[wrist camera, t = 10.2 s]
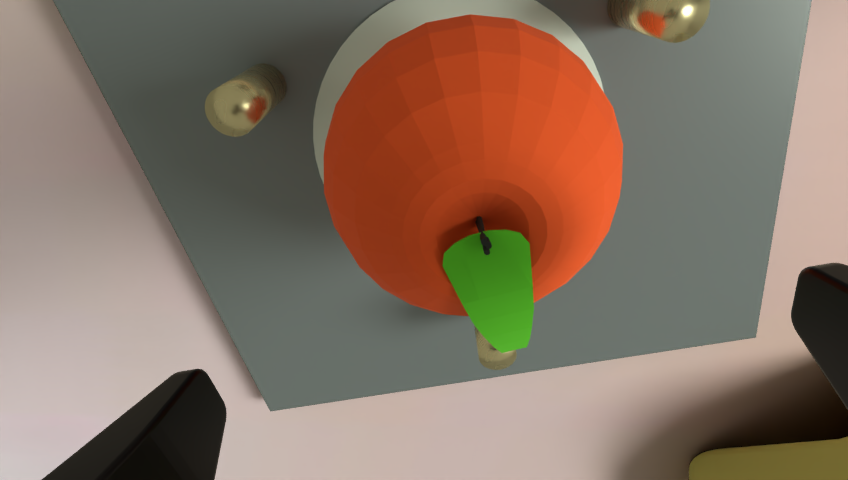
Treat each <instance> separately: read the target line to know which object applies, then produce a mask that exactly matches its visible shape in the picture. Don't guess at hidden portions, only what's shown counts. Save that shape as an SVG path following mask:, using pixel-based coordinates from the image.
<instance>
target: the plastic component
mask: <svg viewBox="0 0 848 480" xmlns="http://www.w3.org/2000/svg"><path fill="white" fill-rule="evenodd" d="M689 480H848V437H845V438H841V439H834V440H822V441H810V442H797V443H785V444H773V445H761V446H748V447H736V448H724V449H715V450H710V451H706V452H703V453H701V454H699V455H698V456H696V457H695V458H694V459H693V460H692V462H691V463H690V466H689Z"/></svg>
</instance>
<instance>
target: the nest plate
mask: <svg viewBox="0 0 848 480" xmlns="http://www.w3.org/2000/svg"><path fill="white" fill-rule="evenodd" d="M53 1H54V3H55V5H56V7H57V9H58V11H59V12H60V14H61V16H62V18H63V20H64V22H65V24H66V26H67V28H68V29H69V31H70V33H71V35H72V37H73V39H74V41H75V43H76V45H77V46H78V48H79V50H80V52H81V54H82V56H83V58H84V60H85V62H86V64H87V65H88V67H89V69H90V71H91V73H92V75H93V77H94V79H95V81H96V82H97V84H98V86H99V88H100V90H101V92H102V94H103V96H104V98H105V99H106V101H107V103H108V105H109V107H110V109H111V111H112V113H113V115H114V116H115V118H116V120H117V122H118V124H119V126H120V128H121V130H122V132H123V134H124V135H125V137H126V139H127V141H128V143H129V145H130V147H131V149H132V151H133V152H134V154H135V156H136V158H137V160H138V162H139V164H140V166H141V168H142V169H143V171H144V173H145V175H146V177H147V179H148V181H149V183H150V185H151V186H152V188H153V190H154V192H155V194H156V196H157V198H158V200H159V202H160V204H161V205H162V207H163V209H164V211H165V213H166V215H167V217H168V219H169V221H170V222H171V224H172V226H173V228H174V230H175V232H176V234H177V236H178V238H179V239H180V241H181V243H182V245H183V247H184V249H185V251H186V253H187V255H188V256H189V258H190V260H191V262H192V264H193V266H194V268H195V270H196V272H197V274H198V275H199V277H200V279H201V281H202V283H203V285H204V287H205V289H206V291H207V292H208V294H209V296H210V298H211V300H212V302H213V304H214V306H215V308H216V309H217V311H218V313H219V315H220V317H221V319H222V321H223V323H224V325H225V326H226V328H227V330H228V332H229V334H230V336H231V338H232V340H233V342H234V344H235V345H236V347H237V349H238V351H239V353H240V355H241V357H242V359H243V361H244V362H245V364H246V366H247V368H248V370H249V372H250V374H251V376H252V378H253V379H254V381H255V383H256V385H257V387H258V389H259V391H260V393H261V395H262V396H263V398H264V400H265V402H266V404H267V406H268V408H269V410H270V411H276V410H282V409H289V408H296V407H302V406H309V405H315V404H322V403H328V402H335V401H342V400H348V399H355V398H361V397H368V396H374V395H381V394H388V393H394V392H401V391H407V390H414V389H420V388H427V387H434V386H440V385H447V384H453V383H460V382H466V381H473V380H480V379H486V378H493V377H499V376H506V375H512V374H519V373H526V372H532V371H539V370H545V369H552V368H558V367H565V366H572V365H578V364H585V363H591V362H598V361H604V360H611V359H617V358H624V357H631V356H637V355H644V354H650V353H657V352H663V351H670V350H677V349H683V348H690V347H696V346H703V345H709V344H716V343H723V342H729V341H736V340H742V339H749V338H755V337H756V333H757V327H758V321H759V315H760V309H761V303H762V297H763V291H764V285H765V279H766V273H767V267H768V261H769V255H770V249H771V243H772V237H773V231H774V224H775V218H776V212H777V206H778V200H779V194H780V188H781V182H782V176H783V170H784V164H785V158H786V152H787V146H788V140H789V134H790V128H791V122H792V116H793V110H794V104H795V98H796V92H797V86H798V80H799V74H800V68H801V62H802V56H803V50H804V44H805V38H806V32H807V25H808V19H809V13H810V7H811V1H812V0H710V10H709V14H708V17H707V20H706V22H705V23H704V25H703V26H702V28H701V29H700V30H699V31H698V32H697V33H696V34H695V35H694V36H692V37H691V38H689V39H687V40H685V41H682V42H678V43H670V42H666V41H663V40H660V39H657V38H654V37H651V36H647V35H644V34H641V33H638V32H635V31H632V30H629V29H625V28H622V27H619V26H617V25H615V24H614V23H613V22H612V21H611V20H610V18H609V15H608V11H607V5H608V0H53ZM469 14H472V15H482V16H492V17H501V18H511V19H515V20H518V21H520V22H522V23H525V24H527V25H530V26H532V27H534V28H537V29H539V30H542V31H544V32H546V33H549V34H551V35H553V36H554V37H555V38H557V39H558V40H559V41H560V42H561V43H562V44H564V45H565V46H566V47H567V48H568V49H570V50H571V51H572V52H573V53H574V54H576V55H577V56H578V57H579V58H580V59H582V60H583V61H584V63H585V64H586V66H587V67H588V69H589V70H590V72H591V73H592V75H593V76H594V78H595V79H596V81H597V83H598V84H599V86H600V87H601V89H602V90H603V92H604V94H605V95H606V97H607V98H608V100H609V101H610V103H611V105H612V106H613V108H614V112H615V116H616V120H617V123H618V127H619V131H620V135H621V138H622V142H623V164H622V184H621V191H620V198H619V201H618V204H617V207H616V210H615V213H614V216H613V220H612V223H611V226H610V229H609V231H608V233H607V235H606V236H605V238H604V239H603V241H602V242H601V244H600V246H599V247H598V249H597V250H596V252H595V254H594V255H593V257H592V258H591V260H590V261H589V262H588V263H587V264H586V265H585V266H584V267H582V268H581V269H580V270H579V271H578V272H577V273H576V274H575V275H574V276H573V277H572V278H571V279H570V280H569V281H568V282H567V283H566V284H564V285H562V286H561V287H559V288H558V289H556V290H554V291H553V292H551V293H549V294H548V295H546V296H545V297H543V298H541V299H540V300H538V301H536V302H535V303H534V313H533V322H532V330H531V335H530V340H529V343H528V346H527V347H526V348H521V349H517V350H516V353H517V356H516V359H515V361H514V363H513V364H512V365H510V366H509V367H507V368H505V369H501V370H492V369H488V368H486V367H484V366H483V365H482V364H481V363H480V361H479V356H478V349H477V342H476V335H475V328H474V324H473V323H472V321H471V319H470V317H469V316H459V315H447V314H441V313H437V312H434V311H430V310H427V309H424V308H420V307H417V306H413V305H410V304H409V303H407V302H405V301H403V300H401V299H400V298H398V297H396V296H394V295H393V294H391V293H389V292H387V291H385V290H384V289H382V288H381V287H380V286H379V285H378V284H377V283H376V282H375V281H374V280H373V279H372V278H371V277H370V276H368V275H367V274H366V273H365V272H364V271H363V270H362V269H361V268H360V267H359V265H358V264H357V262H356V261H355V259H354V257H353V256H352V254H351V253H350V251H349V249H348V248H347V246H346V245H345V243H344V241H343V240H342V238H341V237H340V235H339V233H338V232H337V230H336V229H335V227H334V225H333V221H332V218H331V214H330V211H329V208H328V204H327V201H326V198H325V194H324V149H325V141H326V138H327V134H328V130H329V127H330V123H331V120H332V116H333V112H334V109H335V105H336V103H337V102H338V100H339V98H340V97H341V95H342V94H343V92H344V90H345V89H346V87H347V85H348V84H349V82H350V80H351V79H352V77H353V76H354V74H355V72H356V71H357V70H358V69H359V68H360V67H361V66H362V65H363V64H364V63H365V62H366V61H367V60H369V59H370V58H371V57H372V56H373V55H374V54H375V53H376V52H377V51H378V50H379V49H381V48H382V47H383V46H384V45H385V44H386V43H387V42H389V41H391V40H393V39H395V38H397V37H399V36H401V35H403V34H405V33H407V32H408V31H410V30H412V29H414V28H416V27H418V26H420V25H422V24H424V23H426V22H431V21H437V20H442V19H447V18H453V17H458V16H463V15H469ZM261 63H264V64H269V65H272V66H274V67H275V68H277V69H278V70H279V71H280V72H281V73H282V75H283V76H284V78H285V81H286V85H287V91H286V95H285V97H284V99H283V100H282V101H281V102H280V103H279V104H278V105H277V106H276V107H275V108H274V109H273V110H272V111H270V112H269V113H268V114H267V115H266V116H265V117H264V118H263V119H262V120H261V121H260V122H259V123H258V124H257V125H256V126H255V127H254V128H253V129H252V130H251V131H250V132H249V133H247V134H245V135H243V136H239V137H232V136H227V135H224V134H222V133H221V132H219V131H218V130H216V129H215V128H214V127H213V126H212V125H211V123H210V122H209V120H208V118H207V116H206V113H205V101H206V98H207V96H208V95H209V93H210V92H211V91H212V90H214V89H216V88H217V87H219V86H221V85H222V84H224V83H226V82H227V81H229V80H231V79H232V78H234V77H236V76H237V75H239V74H241V73H242V72H244V71H246V70H247V69H249V68H251V67H252V66H254V65H256V64H261Z"/></svg>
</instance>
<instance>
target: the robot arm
mask: <svg viewBox="0 0 848 480" xmlns="http://www.w3.org/2000/svg"><path fill="white" fill-rule="evenodd" d="M791 318H792V323H793V326H794V328H795V330H796V332H797V333H798V335H799V336H800V338H801V339H802V341H803V342H804V344H805V345H806V347H807V349H808V350H809V352H810V353H811V355H812V356H813V358H814V359H815V361H816V362H817V364H818V365H819V367H820V368H821V370H822V371H823V373H824V374H825V376H826V377H827V379H828V380H829V382H830V384H831V385H832V387H833V388H834V390H835V391H836V393H837V394H838V396H839V397H840V399H841V400H842V402H843V403H844V405H845V406H846V408H847V409H848V265H844V264H840V263H829V264H823V265H817V266H811V267H807V268H805V269H803V270H802V271H801V273H800V274H799V277H798V281H797V286H796V291H795V296H794V301H793V306H792V311H791ZM225 422H226V407H225V404H224V401H223V400H222V398H221V396H220V395H219V393H218V391H217V389H216V388H215V386H214V384H213V383H212V381H211V379H210V378H209V376H208V374H207V373H206V372H205V371H203V370H202V369H193V370H187V371H181V372H177V373H175V374H173V375H172V376H170V377H169V378H168V379H167V380H165V381H164V382H163V383H162V384H160V385H159V386H158V387H157V388H155V389H154V390H153V391H152V392H150V393H149V394H148V395H147V396H145V397H144V398H143V399H142V400H141V401H139V402H138V403H137V404H136V405H134V406H133V407H132V408H131V409H129V410H128V411H127V412H126V413H124V414H123V415H122V416H121V417H119V418H118V419H117V420H116V421H114V422H113V423H112V424H111V425H109V426H108V427H107V428H106V429H104V430H103V431H102V432H101V433H99V434H98V435H97V436H96V437H94V438H93V439H92V440H91V441H89V442H88V443H87V444H86V445H84V446H83V447H82V448H81V449H79V450H78V451H77V452H76V453H74V454H73V455H72V456H71V457H69V458H68V459H67V460H66V461H64V462H63V463H62V464H61V465H59V466H58V467H57V468H56V469H54V470H53V471H52V472H51V473H49V474H48V475H47V476H46V477H44V478H43V479H42V480H214V479H215V474H216V469H217V464H218V458H219V453H220V448H221V443H222V438H223V433H224V427H225Z"/></svg>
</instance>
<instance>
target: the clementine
mask: <svg viewBox="0 0 848 480" xmlns="http://www.w3.org/2000/svg"><path fill="white" fill-rule="evenodd" d="M622 164H623V142H622V138H621V135H620V131H619V127H618V123H617V120H616V116H615V112H614V108H613V106H612V105H611V103H610V101H609V100H608V98H607V97H606V95H605V94H604V92H603V90H602V89H601V87H600V86H599V84H598V83H597V81H596V79H595V78H594V76H593V75H592V73H591V72H590V70H589V69H588V67H587V66H586V64H585V63H584V61H583V60H582V59H580V58H579V57H578V56H577V55H576V54H574V53H573V52H572V51H571V50H570V49H568V48H567V47H566V46H565V45H564V44H562V43H561V42H560V41H559V40H558V39H557V38H555V37H554V36H553V35H551V34H549V33H546V32H544V31H542V30H539V29H537V28H534V27H532V26H530V25H527V24H525V23H522V22H520V21H518V20H515V19H511V18H501V17H492V16H482V15H472V14H469V15H463V16H458V17H453V18H447V19H442V20H437V21H431V22H426V23H424V24H422V25H420V26H418V27H416V28H414V29H412V30H410V31H408V32H407V33H405V34H403V35H401V36H399V37H397V38H395V39H393V40H391V41H389V42H387V43H386V44H385V45H384V46H383V47H382V48H381V49H379V50H378V51H377V52H376V53H375V54H374V55H373V56H372V57H371V58H370V59H369V60H367V61H366V62H365V63H364V64H363V65H362V66H361V67H360V68H359V69H358V70H357V71H356V72H355V74H354V76H353V77H352V79H351V80H350V82H349V84H348V85H347V87H346V89H345V90H344V92H343V94H342V95H341V97H340V98H339V100H338V102H337V103H336V105H335V109H334V112H333V116H332V120H331V123H330V127H329V130H328V134H327V138H326V141H325V149H324V194H325V198H326V201H327V204H328V208H329V211H330V214H331V218H332V221H333V225H334V227H335V229H336V230H337V232H338V233H339V235H340V237H341V238H342V240H343V241H344V243H345V245H346V246H347V248H348V249H349V251H350V253H351V254H352V256H353V257H354V259H355V261H356V262H357V264H358V265H359V267H360V268H361V269H362V270H363V271H364V272H365V273H366V274H367V275H368V276H370V277H371V278H372V279H373V280H374V281H375V282H376V283H377V284H378V285H379V286H380V287H381V288H382V289H384V290H385V291H387V292H389V293H391V294H393V295H394V296H396V297H398V298H400V299H401V300H403V301H405V302H407V303H409V304H410V305H413V306H417V307H420V308H424V309H427V310H430V311H434V312H437V313H441V314H447V315H459V316H469V317H470V319H471V321H472V323H473V324H474V325H475V326H476V328H477V329H478V330H479V331H480V333H481V334H482V335H483V336H484V338H485V339H486V340H487V341H488V342H489V343H490V344H491V345H492V346H493V347H494V348H496V349H497V350H498V351H500V352H501V353H504V352H508V351H513V350H517V349H521V348H526V347H527V346H528V343H529V340H530V335H531V330H532V322H533V313H534V303H535V302H536V301H538V300H540V299H541V298H543V297H545V296H546V295H548V294H549V293H551V292H553V291H554V290H556V289H558V288H559V287H561V286H562V285H564V284H566V283H567V282H568V281H569V280H570V279H571V278H572V277H573V276H574V275H575V274H576V273H577V272H578V271H579V270H580V269H581V268H582V267H584V266H585V265H586V264H587V263H588V262H589V261H590V260H591V258H592V257H593V255H594V254H595V252H596V250H597V249H598V247H599V246H600V244H601V242H602V241H603V239H604V238H605V236H606V235H607V233H608V231H609V229H610V226H611V223H612V220H613V216H614V213H615V210H616V207H617V204H618V201H619V198H620V191H621V184H622Z"/></svg>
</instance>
